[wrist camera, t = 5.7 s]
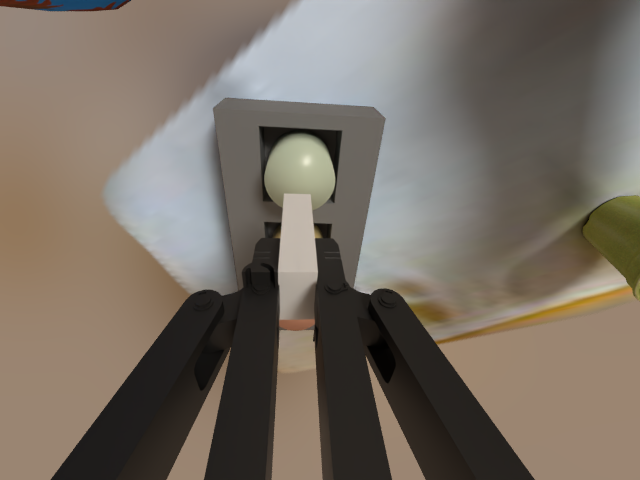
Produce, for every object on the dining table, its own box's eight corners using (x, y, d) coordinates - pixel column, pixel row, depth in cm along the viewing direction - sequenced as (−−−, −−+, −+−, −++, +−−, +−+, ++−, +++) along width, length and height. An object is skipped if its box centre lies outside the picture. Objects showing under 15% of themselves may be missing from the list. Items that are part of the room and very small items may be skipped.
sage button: (267, 128, 22) (262, 144, 18) (332, 131, 22) (338, 148, 19) (270, 188, 24) (265, 211, 21) (327, 190, 25) (332, 213, 22)
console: (225, 97, 22) (212, 108, 19) (373, 107, 24) (385, 118, 20) (248, 304, 36) (244, 330, 33) (341, 304, 37) (345, 329, 34)
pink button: (274, 273, 32) (271, 299, 29) (318, 273, 32) (320, 299, 29) (275, 303, 35) (273, 330, 32) (316, 303, 35) (317, 330, 32)
